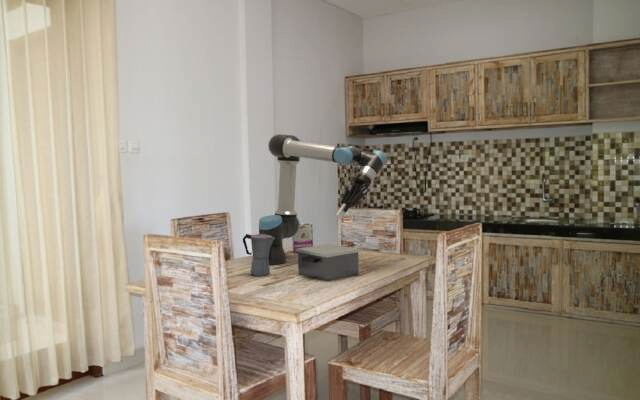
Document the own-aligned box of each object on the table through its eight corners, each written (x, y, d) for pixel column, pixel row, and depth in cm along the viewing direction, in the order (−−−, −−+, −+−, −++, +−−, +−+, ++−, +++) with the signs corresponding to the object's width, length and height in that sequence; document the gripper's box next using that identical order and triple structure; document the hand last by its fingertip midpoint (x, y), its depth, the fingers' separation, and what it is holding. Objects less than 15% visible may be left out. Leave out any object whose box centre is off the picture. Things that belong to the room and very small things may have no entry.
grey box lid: (296, 251, 220) (296, 248, 219) (328, 246, 232) (328, 244, 232) (326, 257, 203) (326, 254, 203) (359, 251, 215) (359, 249, 215)
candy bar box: (311, 250, 282) (311, 222, 281) (313, 252, 277) (312, 223, 276) (292, 251, 280) (291, 223, 279) (293, 253, 275) (292, 224, 274)
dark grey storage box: (294, 274, 219) (293, 252, 218) (329, 268, 232) (328, 247, 231) (323, 282, 203) (322, 258, 203) (358, 274, 216) (358, 252, 215)
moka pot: (272, 277, 215) (271, 231, 214) (239, 276, 218) (238, 231, 217) (278, 272, 224) (277, 229, 223) (246, 271, 227) (245, 228, 226)
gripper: (379, 183, 226) (353, 223, 217) (359, 183, 236) (333, 220, 227) (370, 172, 223) (343, 212, 213) (351, 172, 233) (324, 210, 223)
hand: (338, 216), depth 220 cm, fingers closed
